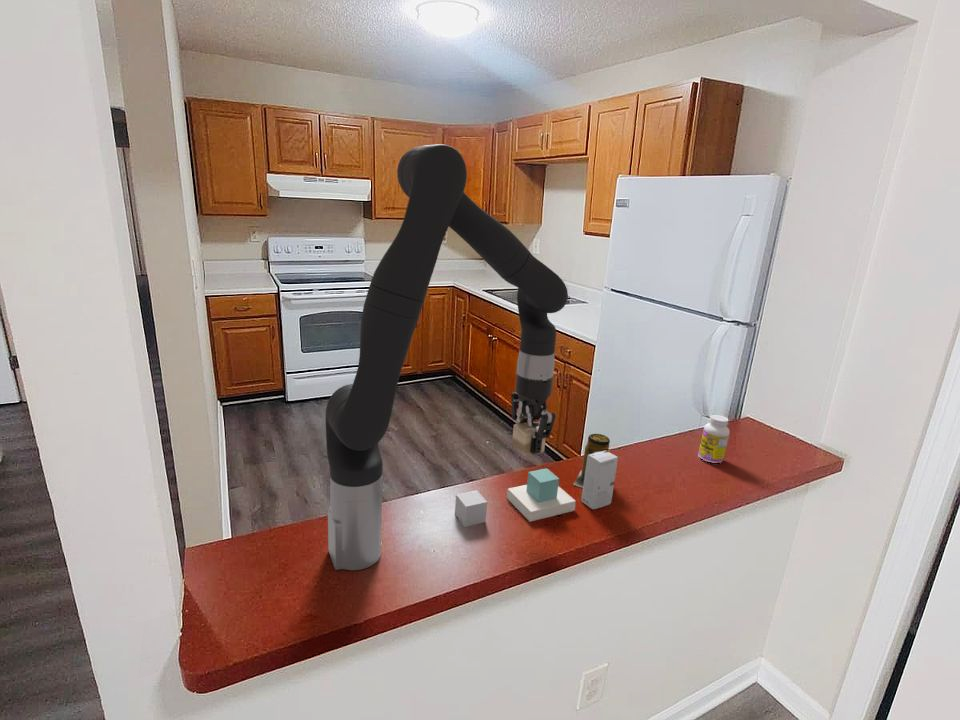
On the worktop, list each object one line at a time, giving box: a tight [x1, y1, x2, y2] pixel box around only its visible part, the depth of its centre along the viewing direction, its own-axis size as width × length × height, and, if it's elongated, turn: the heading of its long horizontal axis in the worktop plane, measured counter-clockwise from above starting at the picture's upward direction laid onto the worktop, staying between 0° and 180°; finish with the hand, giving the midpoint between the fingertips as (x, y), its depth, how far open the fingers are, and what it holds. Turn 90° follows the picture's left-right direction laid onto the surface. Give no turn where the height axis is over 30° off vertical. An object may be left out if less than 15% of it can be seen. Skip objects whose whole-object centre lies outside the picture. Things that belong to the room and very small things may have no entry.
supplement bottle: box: [697, 414, 731, 463], centre depth 148 cm, size 7×7×13 cm
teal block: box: [526, 468, 560, 503], centre depth 120 cm, size 5×5×5 cm
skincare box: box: [580, 450, 619, 510], centre depth 122 cm, size 6×4×12 cm
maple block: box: [511, 421, 546, 457], centre depth 112 cm, size 5×5×5 cm
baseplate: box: [506, 484, 577, 523], centre depth 121 cm, size 12×10×2 cm
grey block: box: [454, 489, 488, 528], centre depth 113 cm, size 5×5×5 cm
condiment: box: [573, 433, 611, 489], centre depth 131 cm, size 7×8×12 cm
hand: (528, 446), depth 113 cm, fingers closed on maple block, 5 cm apart
